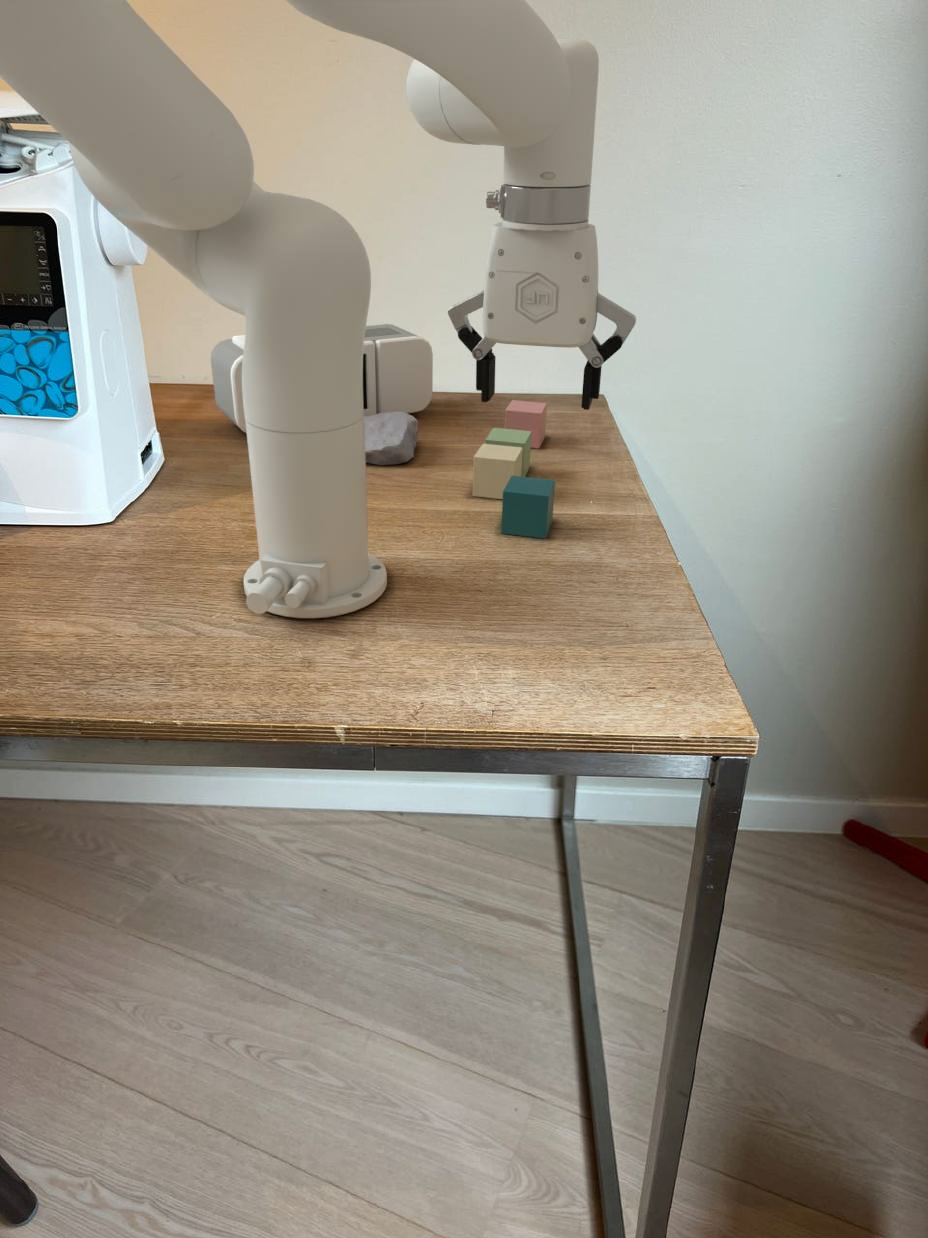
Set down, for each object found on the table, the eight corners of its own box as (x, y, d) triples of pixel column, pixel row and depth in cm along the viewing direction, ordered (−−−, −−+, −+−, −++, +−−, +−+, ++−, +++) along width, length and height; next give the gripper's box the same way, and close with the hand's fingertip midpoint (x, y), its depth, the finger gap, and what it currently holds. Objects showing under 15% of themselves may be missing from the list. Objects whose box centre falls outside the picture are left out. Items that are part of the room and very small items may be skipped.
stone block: (410, 480, 108) (421, 438, 116) (407, 445, 105) (419, 404, 113) (313, 477, 110) (331, 436, 117) (307, 443, 106) (325, 402, 114)
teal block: (545, 538, 91) (548, 496, 88) (500, 533, 91) (502, 491, 89) (552, 521, 94) (555, 479, 92) (509, 516, 95) (511, 475, 93)
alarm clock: (240, 447, 112) (229, 350, 106) (218, 426, 119) (207, 334, 113) (433, 418, 124) (433, 329, 119) (402, 400, 131) (401, 316, 125)
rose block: (539, 448, 114) (541, 413, 112) (503, 445, 115) (505, 409, 113) (544, 437, 118) (547, 402, 116) (510, 434, 119) (512, 399, 117)
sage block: (522, 481, 104) (524, 443, 102) (483, 477, 105) (485, 439, 103) (529, 468, 108) (531, 431, 106) (491, 464, 109) (493, 427, 107)
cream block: (513, 500, 99) (515, 460, 97) (472, 496, 100) (473, 456, 98) (520, 485, 103) (522, 447, 101) (481, 481, 104) (482, 443, 102)
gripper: (438, 209, 77) (440, 406, 85) (644, 215, 73) (624, 420, 82) (458, 200, 83) (458, 385, 92) (649, 205, 80) (630, 397, 88)
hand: (536, 401), depth 87 cm, fingers open, 9 cm apart
